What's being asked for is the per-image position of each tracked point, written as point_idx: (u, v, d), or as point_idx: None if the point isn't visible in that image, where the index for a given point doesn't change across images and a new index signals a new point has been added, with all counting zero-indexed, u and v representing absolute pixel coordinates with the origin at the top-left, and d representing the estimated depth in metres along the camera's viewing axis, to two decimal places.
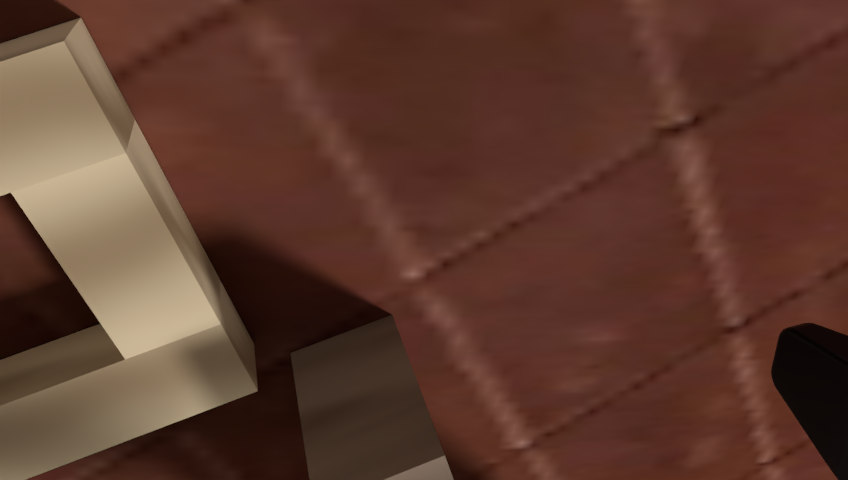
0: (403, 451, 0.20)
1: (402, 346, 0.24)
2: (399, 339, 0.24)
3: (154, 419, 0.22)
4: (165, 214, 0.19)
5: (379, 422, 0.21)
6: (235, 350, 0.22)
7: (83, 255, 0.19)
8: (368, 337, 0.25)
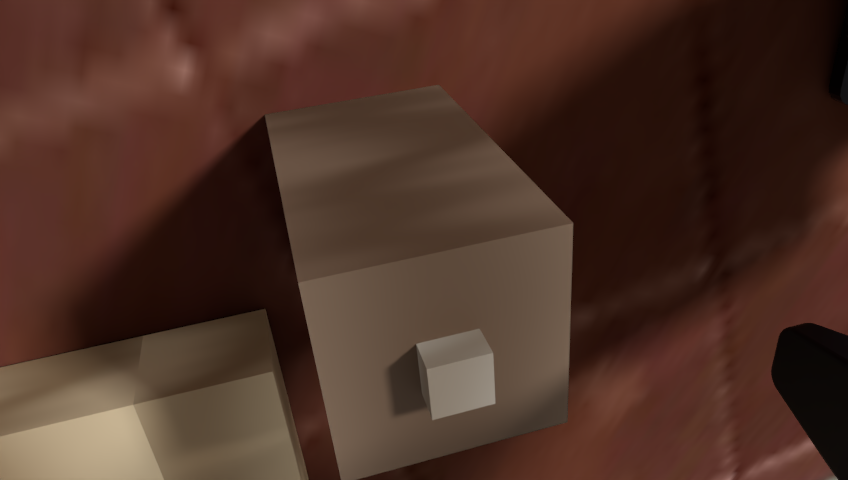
0: None
1: (271, 147, 0.13)
2: None
3: (281, 477, 0.17)
4: None
5: None
6: (188, 390, 0.15)
7: None
8: None
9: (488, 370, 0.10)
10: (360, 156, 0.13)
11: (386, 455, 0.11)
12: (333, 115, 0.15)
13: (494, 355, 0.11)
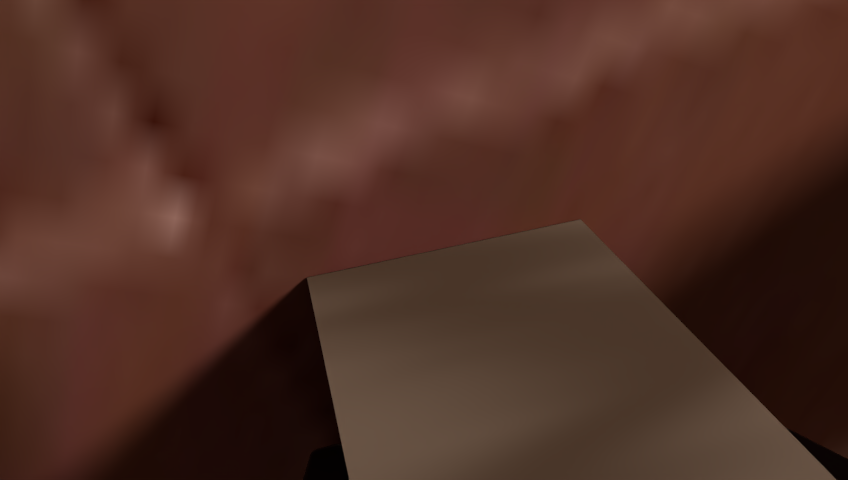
0: None
1: (326, 370, 0.08)
2: None
3: None
4: None
5: None
6: None
7: None
8: None
9: None
10: (498, 415, 0.07)
11: None
12: (424, 288, 0.09)
13: None
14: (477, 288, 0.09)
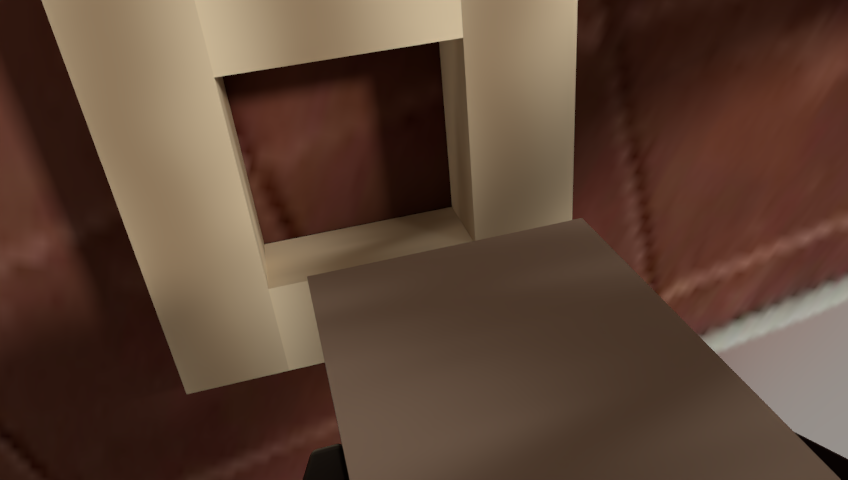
0: None
1: (326, 369, 0.08)
2: None
3: (560, 34, 0.17)
4: None
5: None
6: None
7: (308, 34, 0.16)
8: None
9: None
10: (499, 414, 0.07)
11: None
12: (424, 287, 0.09)
13: None
14: (478, 287, 0.09)
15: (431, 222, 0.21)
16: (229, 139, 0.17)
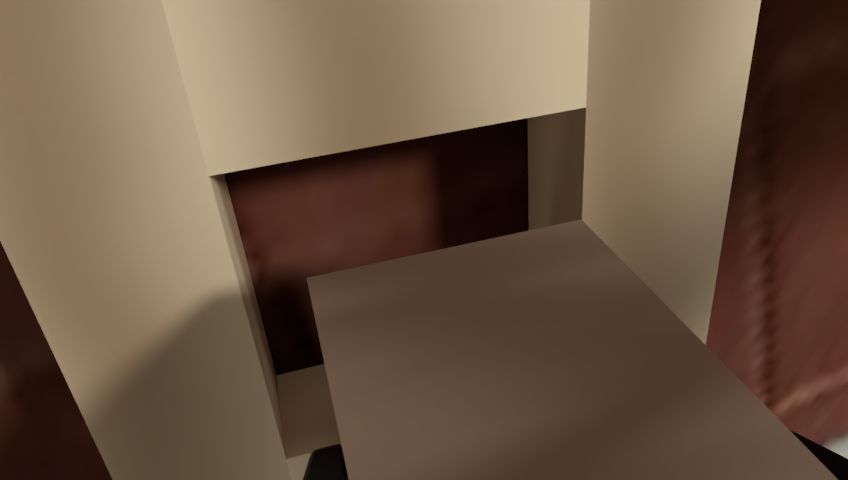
0: None
1: (326, 370, 0.08)
2: (321, 349, 0.08)
3: (722, 99, 0.12)
4: None
5: None
6: None
7: (358, 107, 0.10)
8: None
9: None
10: (500, 416, 0.07)
11: None
12: (424, 288, 0.09)
13: None
14: (478, 288, 0.09)
15: None
16: (232, 263, 0.11)
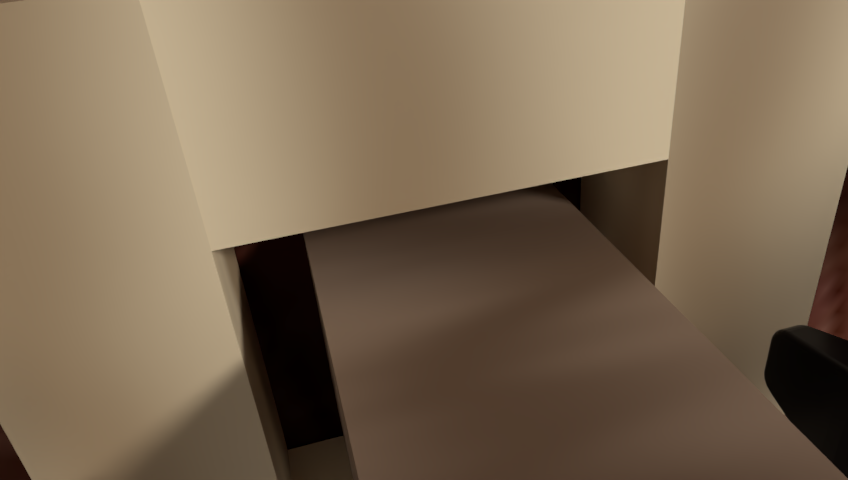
0: None
1: (312, 273, 0.09)
2: (308, 259, 0.10)
3: (826, 147, 0.10)
4: None
5: None
6: None
7: (395, 165, 0.08)
8: (314, 290, 0.11)
9: None
10: (448, 299, 0.08)
11: None
12: (395, 215, 0.10)
13: None
14: (440, 214, 0.10)
15: None
16: (239, 350, 0.09)
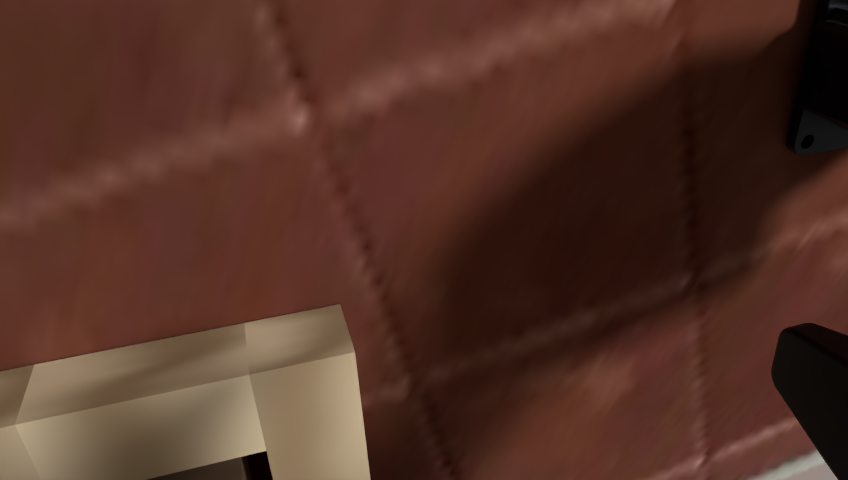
0: None
1: None
2: None
3: (350, 438, 0.21)
4: (106, 393, 0.19)
5: None
6: (290, 365, 0.19)
7: (131, 465, 0.19)
8: None
9: None
10: None
11: None
12: None
13: None
14: None
15: None
16: None
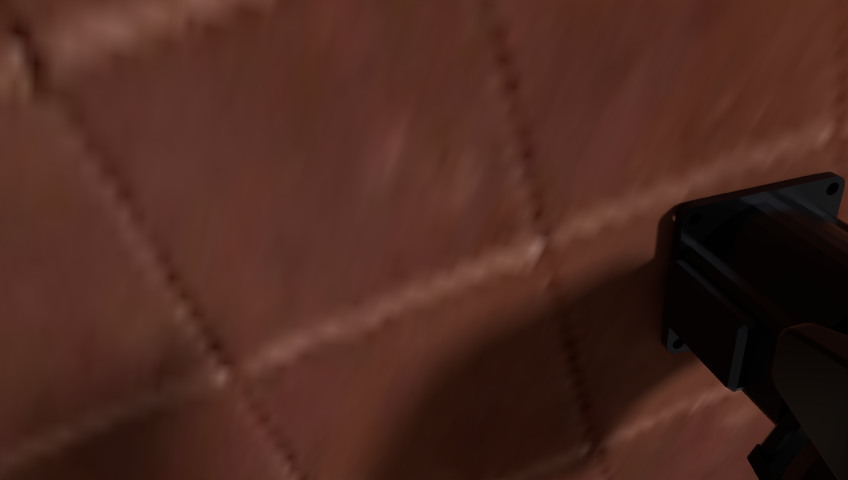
0: None
1: None
2: None
3: None
4: None
5: None
6: None
7: None
8: None
9: None
10: None
11: None
12: None
13: None
14: None
15: None
16: None
